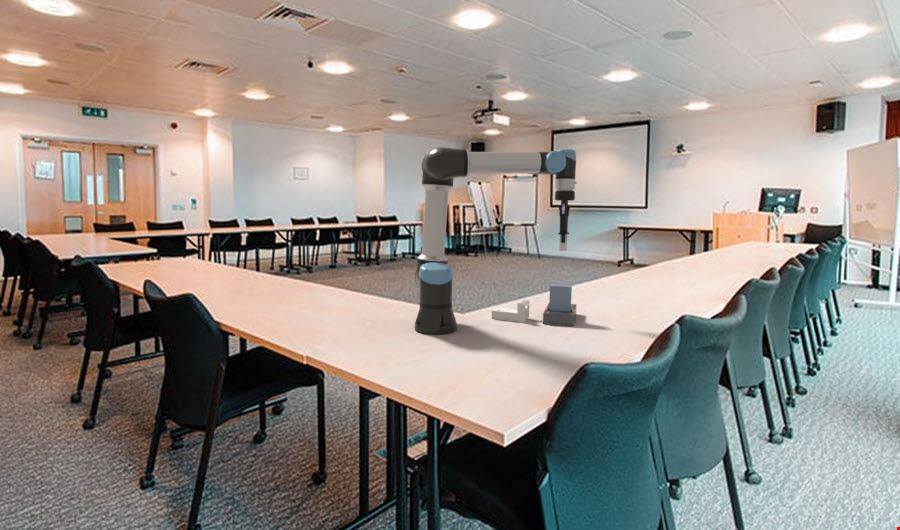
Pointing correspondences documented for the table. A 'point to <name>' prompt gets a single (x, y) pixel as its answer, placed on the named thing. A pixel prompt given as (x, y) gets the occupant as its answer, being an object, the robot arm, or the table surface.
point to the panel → (560, 298)
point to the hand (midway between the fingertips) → (563, 250)
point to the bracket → (512, 312)
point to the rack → (559, 316)
